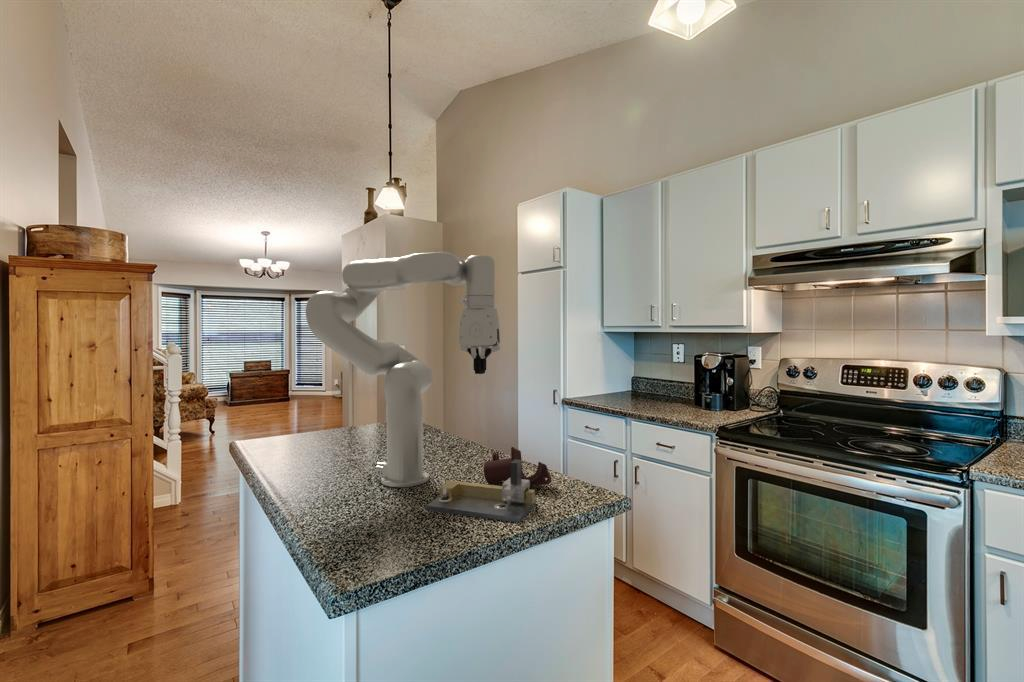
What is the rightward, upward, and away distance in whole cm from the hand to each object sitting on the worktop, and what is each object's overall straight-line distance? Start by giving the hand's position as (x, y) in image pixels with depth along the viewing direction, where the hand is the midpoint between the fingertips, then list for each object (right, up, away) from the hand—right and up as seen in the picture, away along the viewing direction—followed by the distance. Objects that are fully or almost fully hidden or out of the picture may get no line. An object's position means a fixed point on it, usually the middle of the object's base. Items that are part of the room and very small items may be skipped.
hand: (479, 373), depth 124 cm
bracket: (+10, -30, 0) cm, 31 cm away
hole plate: (+2, -29, -16) cm, 33 cm away
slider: (+9, -28, -16) cm, 33 cm away
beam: (+2, -28, -14) cm, 32 cm away
